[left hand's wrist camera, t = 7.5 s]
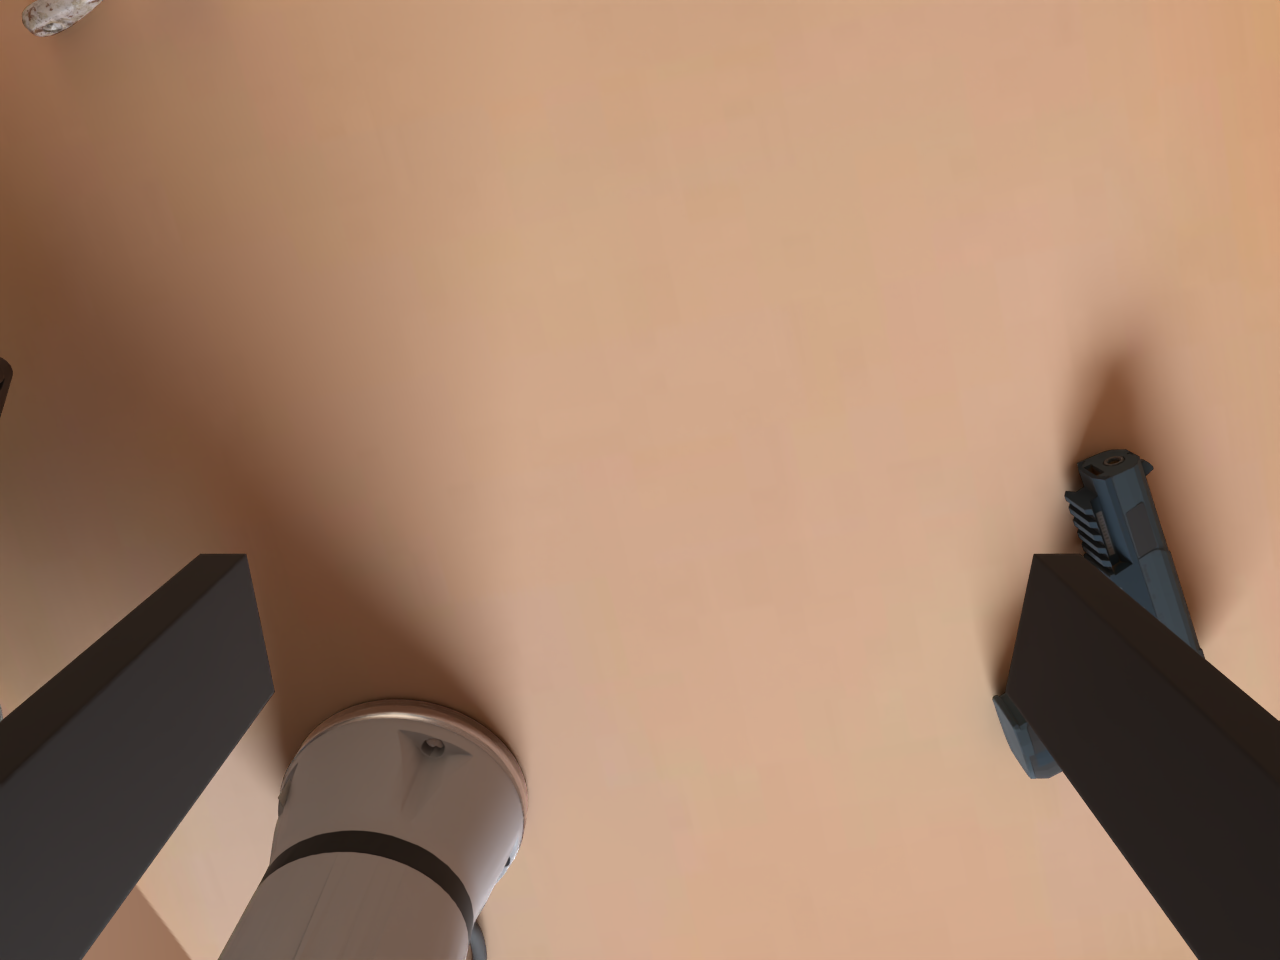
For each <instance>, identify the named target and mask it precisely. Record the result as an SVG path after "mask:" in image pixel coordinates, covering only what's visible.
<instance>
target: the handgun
mask: <svg viewBox="0 0 1280 960" xmlns="http://www.w3.org/2000/svg"><path fill="white" fill-rule="evenodd" d="M1077 466H1078V470H1079V473H1080V476H1081V479H1082V482H1083V485H1084V487H1083V488H1081V489H1080V490H1079V491H1077V492H1071V491H1065V499H1066V501H1067V502H1069V503H1070V505H1069V510H1070V513H1071V514H1072V515H1073V516H1074V519H1073V522H1074V524H1075V526H1076V527H1077V528H1079V529H1078V532H1077V533H1078V536H1079V538H1080V539H1081V540H1083V542H1082V547H1083V550H1084V551H1085V552H1086V553H1085V554H1084V558H1085V559H1086V560H1088V561H1089V562H1090V563H1091V564H1092V565H1094V566H1095V567H1096V568H1097V569H1098V570H1099V571H1101V572H1102V573H1103V574H1104V575H1105V576H1107V577H1108V578H1109V579H1110V580H1111V581H1113V582H1114V583H1115V584H1116V585H1117V586H1119V587H1120V588H1121V589H1122V590H1123V591H1124V592H1126V593H1127V594H1128V595H1129V596H1130V597H1132V598H1133V599H1134V600H1135V601H1136V602H1138V603H1139V604H1140V605H1141V606H1142V607H1144V608H1145V609H1146V610H1147V611H1148V612H1150V613H1151V614H1152V615H1153V616H1154V617H1155V618H1157V619H1158V620H1159V621H1160V622H1161V623H1163V624H1164V625H1165V626H1166V627H1167V628H1169V629H1170V630H1171V631H1172V632H1173V633H1175V634H1176V635H1177V636H1178V637H1179V638H1180V639H1182V640H1183V641H1184V642H1185V643H1186V644H1188V645H1189V646H1190V647H1191V648H1192V649H1194V650H1195V651H1196V652H1197V653H1198V654H1200V655H1201V656H1202V657H1203V658H1204V659H1205V657H1204V654H1203V651H1202V649H1201V648H1200V646H1199V643H1198V640H1197V637H1196V633H1195V630H1194V627H1193V624H1192V621H1191V617H1190V614H1189V611H1188V608H1187V604H1186V601H1185V598H1184V595H1183V591H1182V588H1181V585H1180V582H1179V579H1178V575H1177V572H1176V569H1175V566H1174V562H1173V559H1172V556H1171V553H1170V551H1169V550H1168V547H1167V544H1166V541H1165V538H1164V534H1163V531H1162V528H1161V525H1160V521H1159V518H1158V515H1157V512H1156V509H1155V505H1154V502H1153V499H1152V496H1151V492H1150V489H1149V486H1148V483H1147V480H1146V475H1148V474H1149V473H1150V472H1151V471H1152V470H1153V466H1152V465H1151V464H1150V463H1148V462H1147V461H1145V460H1142V459H1140V457H1139V456H1137V455H1136V454H1134V453H1132V452H1130V451H1128V450H1126V449H1124V450H1109V451H1105V452H1102V453H1100V454H1097V455H1095V456H1092V457H1090V458H1088V459H1086V460H1083V461H1081V462H1079V463H1077ZM993 702H994V705H995V708H996V711H997V714H998V717H999V720H1000V723H1001V726H1002V729H1003V731H1004V734H1005V737H1006V739H1007V742H1008V744H1009V746H1010V748H1011V751H1012V752H1013V754H1014V755H1015V757H1016V758H1017V760H1018V762H1019V763H1020V765H1021V766H1022V768H1023V769H1024V770H1025V772H1026V773H1027V775H1028V776H1029V777H1030V778H1031V779H1036V778H1050V777H1052V776H1054V775H1056V774H1058V773H1060V772H1062V770H1061V768H1060V767H1059V766H1058V764H1057V763H1056V761H1055V760H1054V759H1053V757H1052V756H1051V754H1050V753H1049V752H1048V750H1047V749H1046V748H1045V746H1044V745H1043V743H1042V742H1041V741H1040V739H1039V738H1038V736H1037V735H1036V734H1035V732H1034V731H1033V729H1032V728H1031V727H1030V725H1029V724H1028V723H1027V721H1026V720H1025V718H1024V717H1023V716H1022V714H1021V713H1020V711H1019V710H1018V709H1017V707H1016V706H1015V705H1014V703H1013V702H1012V700H1011V699H1010V698H1009V696H1008V695H1007V693H1004V694H1002V695H1001V696H998V695H995V696H994V697H993Z"/></svg>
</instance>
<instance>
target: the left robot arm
mask: <svg viewBox="0 0 1280 960" xmlns="http://www.w3.org/2000/svg"><path fill="white" fill-rule="evenodd" d="M274 692H275V691H274V686H273V681H272V676H271V671H270V666H269V661H268V657H267V652H266V647H265V642H264V637H263V632H262V628H261V623H260V618H259V613H258V608H257V603H256V599H255V594H254V589H253V584H252V579H251V574H250V570H249V565H248V560H247V555H246V554H200V555H198V556H197V557H196V558H195V559H194V560H192V561H191V562H190V563H189V564H188V565H186V566H185V567H184V568H183V569H182V570H181V571H179V572H178V573H177V574H176V575H175V576H173V577H172V578H171V579H170V580H169V581H167V582H166V583H165V584H164V585H163V586H161V587H160V588H159V589H158V590H157V591H156V592H154V593H153V594H152V595H151V596H150V597H148V598H147V599H146V600H145V601H144V602H142V603H141V604H140V605H139V606H138V607H136V608H135V609H134V610H133V611H132V612H130V613H129V614H128V615H127V616H126V617H125V618H123V619H122V620H121V621H120V622H119V623H117V624H116V625H115V626H114V627H113V628H111V629H110V630H109V631H108V632H107V633H105V634H104V635H103V636H102V637H101V638H100V639H98V640H97V641H96V642H95V643H94V644H92V645H91V646H90V647H89V648H88V649H86V650H85V651H84V652H83V653H82V654H80V655H79V656H78V657H77V658H76V659H74V660H73V661H72V662H71V663H70V664H69V665H67V666H66V667H65V668H64V669H63V670H61V671H60V672H59V673H58V674H57V675H55V676H54V677H53V678H52V679H51V680H49V681H48V682H47V683H46V684H45V685H44V686H42V687H41V688H40V689H39V690H38V691H36V692H35V693H34V694H33V695H32V696H30V697H29V698H28V699H27V700H26V701H24V702H23V703H22V704H21V705H20V706H19V707H17V708H16V709H15V710H14V711H13V712H11V713H10V714H9V715H8V716H7V717H5V718H4V719H3V720H2V721H1V722H0V960H82V958H83V957H84V956H85V954H86V953H87V952H88V950H89V949H90V947H91V946H92V945H93V943H94V942H95V940H96V939H97V938H98V936H99V935H100V933H101V932H102V931H103V929H104V928H105V927H106V925H107V924H108V922H109V921H110V920H111V918H112V917H113V915H114V914H115V913H116V911H117V910H118V909H119V907H120V906H121V904H122V903H123V901H124V900H125V899H126V897H127V896H128V895H129V893H130V892H131V890H132V889H133V888H134V886H135V885H136V884H137V882H138V881H139V879H140V878H141V877H142V875H143V874H144V872H145V871H146V870H147V868H148V867H149V865H150V864H151V863H152V861H153V860H154V859H155V857H156V856H157V854H158V853H159V852H160V850H161V849H162V847H163V846H164V845H165V843H166V842H167V841H168V839H169V838H170V836H171V835H172V834H173V832H174V831H175V829H176V828H177V827H178V825H179V824H180V822H181V821H182V820H183V818H184V817H185V816H186V814H187V813H188V811H189V810H190V809H191V807H192V806H193V804H194V803H195V802H196V800H197V799H198V797H199V796H200V795H201V793H202V792H203V791H204V789H205V788H206V786H207V785H208V784H209V782H210V781H211V779H212V778H213V777H214V775H215V774H216V773H217V771H218V770H219V768H220V767H221V766H222V764H223V763H224V761H225V760H226V759H227V757H228V756H229V754H230V753H231V752H232V750H233V749H234V748H235V746H236V745H237V743H238V742H239V741H240V739H241V738H242V736H243V735H244V734H245V732H246V731H247V729H248V728H249V727H250V725H251V724H252V723H253V721H254V720H255V718H256V717H257V716H258V714H259V713H260V711H261V710H262V709H263V707H264V706H265V705H266V703H267V702H268V700H269V699H270V698H271V696H272V695H273V693H274ZM1005 692H1006V693H1007V695H1008V696H1009V698H1010V699H1011V700H1012V702H1013V703H1014V705H1015V706H1016V707H1017V709H1018V710H1019V711H1020V713H1021V714H1022V716H1023V717H1024V718H1025V720H1026V721H1027V723H1028V724H1029V725H1030V727H1031V728H1032V729H1033V731H1034V732H1035V734H1036V735H1037V736H1038V738H1039V739H1040V741H1041V742H1042V743H1043V745H1044V746H1045V748H1046V749H1047V750H1048V752H1049V753H1050V754H1051V756H1052V757H1053V759H1054V760H1055V761H1056V763H1057V764H1058V766H1059V767H1060V768H1061V770H1062V771H1063V773H1064V774H1065V775H1066V777H1067V778H1068V779H1069V781H1070V782H1071V784H1072V785H1073V786H1074V788H1075V789H1076V791H1077V792H1078V793H1079V795H1080V796H1081V797H1082V799H1083V800H1084V802H1085V803H1086V804H1087V806H1088V807H1089V809H1090V810H1091V811H1092V813H1093V814H1094V816H1095V817H1096V818H1097V820H1098V821H1099V822H1100V824H1101V825H1102V827H1103V828H1104V829H1105V831H1106V832H1107V834H1108V835H1109V836H1110V838H1111V839H1112V841H1113V842H1114V843H1115V845H1116V846H1117V847H1118V849H1119V850H1120V852H1121V853H1122V854H1123V856H1124V857H1125V859H1126V860H1127V861H1128V863H1129V864H1130V865H1131V867H1132V868H1133V870H1134V871H1135V872H1136V874H1137V875H1138V877H1139V878H1140V879H1141V881H1142V882H1143V884H1144V885H1145V886H1146V888H1147V889H1148V890H1149V892H1150V893H1151V895H1152V896H1153V897H1154V899H1155V900H1156V902H1157V903H1158V904H1159V906H1160V907H1161V909H1162V910H1163V911H1164V913H1165V914H1166V915H1167V917H1168V918H1169V920H1170V921H1171V922H1172V924H1173V925H1174V927H1175V928H1176V929H1177V931H1178V932H1179V933H1180V935H1181V936H1182V938H1183V939H1184V940H1185V942H1186V943H1187V945H1188V946H1189V947H1190V949H1191V950H1192V952H1193V953H1194V954H1195V956H1196V957H1197V958H1198V960H1280V721H1278V720H1277V719H1276V718H1275V717H1273V716H1272V715H1271V714H1270V713H1269V712H1267V711H1266V710H1265V709H1264V708H1263V707H1261V706H1260V705H1259V704H1258V703H1257V702H1256V701H1254V700H1253V699H1252V698H1251V697H1250V696H1248V695H1247V694H1246V693H1245V692H1244V691H1242V690H1241V689H1240V688H1239V687H1238V686H1236V685H1235V684H1234V683H1233V682H1232V681H1231V680H1229V679H1228V678H1227V677H1226V676H1225V675H1223V674H1222V673H1221V672H1220V671H1219V670H1217V669H1216V668H1215V667H1214V666H1213V665H1211V664H1210V663H1209V662H1208V661H1207V660H1206V659H1204V658H1203V657H1202V656H1201V655H1200V654H1198V653H1197V652H1196V651H1195V650H1194V649H1192V648H1191V647H1190V646H1189V645H1188V644H1186V643H1185V642H1184V641H1183V640H1182V639H1180V638H1179V637H1178V636H1177V635H1176V634H1175V633H1173V632H1172V631H1171V630H1170V629H1169V628H1167V627H1166V626H1165V625H1164V624H1163V623H1161V622H1160V621H1159V620H1158V619H1157V618H1155V617H1154V616H1153V615H1152V614H1151V613H1150V612H1148V611H1147V610H1146V609H1145V608H1144V607H1142V606H1141V605H1140V604H1139V603H1138V602H1136V601H1135V600H1134V599H1133V598H1132V597H1130V596H1129V595H1128V594H1127V593H1126V592H1124V591H1123V590H1122V589H1121V588H1120V587H1119V586H1117V585H1116V584H1115V583H1114V582H1113V581H1111V580H1110V579H1109V578H1108V577H1107V576H1105V575H1104V574H1103V573H1102V572H1101V571H1099V570H1098V569H1097V568H1096V567H1095V566H1094V565H1092V564H1091V563H1090V562H1089V561H1088V560H1086V559H1085V558H1084V557H1083V556H1082V555H1080V554H1034V555H1033V560H1032V565H1031V570H1030V574H1029V579H1028V584H1027V589H1026V594H1025V599H1024V603H1023V608H1022V613H1021V618H1020V623H1019V628H1018V632H1017V637H1016V642H1015V647H1014V652H1013V657H1012V661H1011V666H1010V671H1009V676H1008V681H1007V686H1006V691H1005Z"/></svg>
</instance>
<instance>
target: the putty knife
mask: <svg viewBox="0 0 1280 960" xmlns="http://www.w3.org/2000/svg"><path fill="white" fill-rule="evenodd" d="M102 1H103V0H37V1H35V2H33V3H32V4H30V5H29V6H27V7H26V8H25V9H24V11H23V12H22V21H23V24H24V26H25V27H26V28H27V29H28V30H29V31H30V32H31V33H32V34H34V35H36V36H40V37H46V36H51V35H54V34H57V33H59V32H61V31H63V30H65V29H67V28H69V27H71V26H72V25H74V24H75V23H76V22H78V21H79V20H80V19H82V18H83V17H84V16H85V15H87V14H88V13H89V12H91V11H92V10H93V9H94V8H95V7H96V6H97V5H98V4H100V3H101V2H102Z"/></svg>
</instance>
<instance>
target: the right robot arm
mask: <svg viewBox="0 0 1280 960" xmlns="http://www.w3.org/2000/svg"><path fill="white" fill-rule="evenodd" d="M12 375H13V371H12V368H11V366H10V364H9V363H8V362H7V361H6V360H4V359H3V358H1V357H0V416H1V413H2V410H3V406H4V403H5V399H6V396H7V393H8V389H9V386H10V383H11V379H12ZM2 720H3V715H2V708H1V706H0V722H1V721H2ZM278 799H279V805H278V820H277V824H276V827H275V832H274V837H273V844H272V851H271V858H270V865H269V867H268V869H267V871H266V873H265V875H264V877H263V878H262V880H261V882H260V884H259V886H258V888H257V890H256V891H255V893H254V895H253V896H252V898H251V900H250V902H249V904H248V905H247V907H246V909H245V911H244V913H243V915H242V916H241V918H240V920H239V922H238V924H237V926H236V927H235V929H234V931H233V933H232V935H231V937H230V938H229V940H228V942H227V944H226V946H225V947H224V949H223V951H222V953H221V955H220V957H219V958H218V960H466V956H467V952H468V947H469V943H470V944H471V949H472V957H473V960H487V953H486V945H485V941H484V937H483V934H482V931H481V929H480V927H479V925H478V924H477V922H476V919H477V917H478V916H479V914H480V912H481V911H482V909H483V907H484V905H485V904H486V902H487V900H488V898H489V895H490V893H491V891H492V889H493V887H494V886H495V884H496V883H497V882H498V881H499V880H500V879H501V877H502V876H503V875H504V874H505V872H506V871H507V869H508V868H509V866H510V864H511V863H512V861H513V860H514V858H515V856H516V855H517V852H518V850H519V848H520V845H521V842H522V838H523V833H524V828H525V822H526V817H527V810H528V793H527V787H526V782H525V779H524V776H523V773H522V771H521V769H520V767H519V764H518V763H517V761H516V759H515V758H514V756H513V754H512V753H511V752H510V751H509V749H508V748H507V747H506V746H505V744H504V743H503V742H502V741H501V740H500V739H499V738H498V737H497V736H496V735H494V734H493V733H492V732H491V731H490V730H488V729H487V728H486V727H484V726H483V725H482V724H480V723H478V722H477V721H475V720H473V719H472V718H470V717H468V716H466V715H464V714H462V713H460V712H458V711H455V710H453V709H450V708H447V707H444V706H441V705H438V704H433V703H429V702H424V701H417V700H407V699H386V700H377V701H371V702H366V703H362V704H358V705H355V706H352V707H349V708H347V709H344V710H342V711H340V712H338V713H336V714H334V715H332V716H331V717H329V718H328V719H326V720H325V721H323V722H322V723H321V724H320V725H318V726H317V727H316V728H315V729H314V730H313V731H312V732H311V733H310V734H309V736H308V737H307V738H306V739H305V741H304V742H303V744H302V745H301V747H300V749H299V750H298V752H297V754H296V755H295V757H294V759H293V760H292V762H291V764H290V765H289V767H288V769H287V771H286V773H285V776H284V778H283V782H282V785H281V791H280V795H279V797H278Z"/></svg>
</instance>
